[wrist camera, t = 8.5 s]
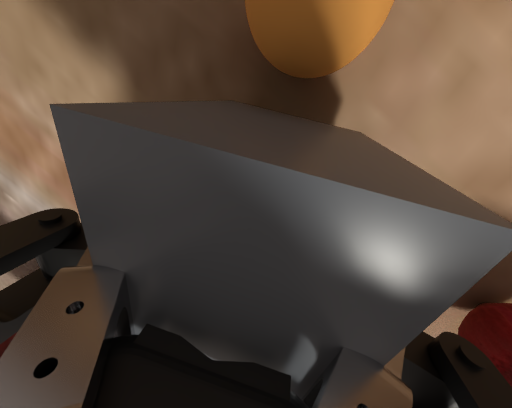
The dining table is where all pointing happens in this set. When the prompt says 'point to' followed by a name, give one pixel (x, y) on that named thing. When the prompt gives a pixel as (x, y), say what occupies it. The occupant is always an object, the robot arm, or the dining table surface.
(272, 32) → the ball
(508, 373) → the onion
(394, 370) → the robot arm
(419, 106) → the dining table surface
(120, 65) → the dining table surface
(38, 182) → the dining table surface
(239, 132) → the grey rectangular box
